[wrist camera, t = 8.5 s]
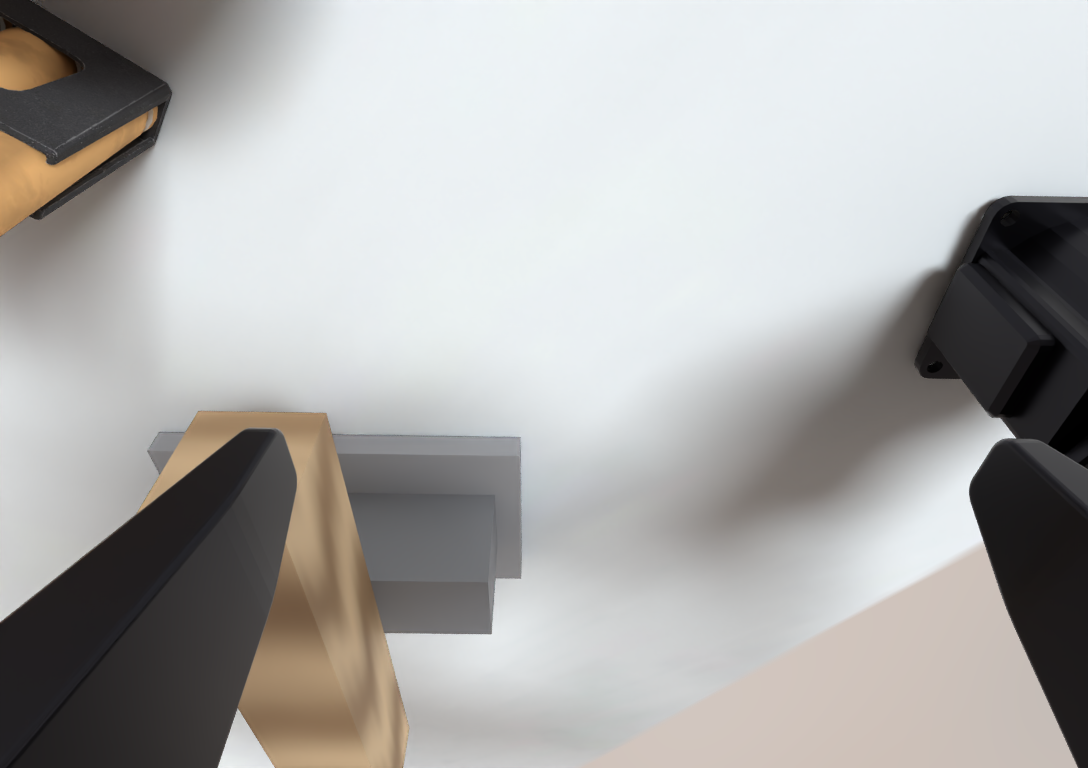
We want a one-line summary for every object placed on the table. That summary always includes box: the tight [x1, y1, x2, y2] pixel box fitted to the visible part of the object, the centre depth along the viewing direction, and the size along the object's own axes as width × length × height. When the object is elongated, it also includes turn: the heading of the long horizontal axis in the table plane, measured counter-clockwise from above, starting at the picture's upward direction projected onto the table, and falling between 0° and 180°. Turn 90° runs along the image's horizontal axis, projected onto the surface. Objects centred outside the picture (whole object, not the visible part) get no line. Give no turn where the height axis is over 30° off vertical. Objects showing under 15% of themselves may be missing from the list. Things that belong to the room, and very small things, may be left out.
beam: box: [137, 411, 409, 768], centre depth 23 cm, size 20×4×4 cm, turn 179°
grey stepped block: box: [148, 432, 522, 634], centre depth 26 cm, size 14×8×5 cm, turn 89°
